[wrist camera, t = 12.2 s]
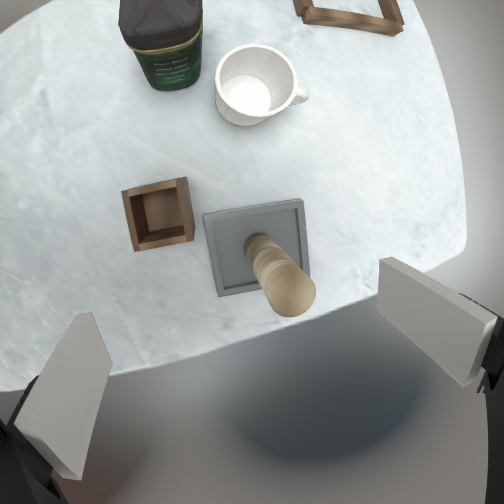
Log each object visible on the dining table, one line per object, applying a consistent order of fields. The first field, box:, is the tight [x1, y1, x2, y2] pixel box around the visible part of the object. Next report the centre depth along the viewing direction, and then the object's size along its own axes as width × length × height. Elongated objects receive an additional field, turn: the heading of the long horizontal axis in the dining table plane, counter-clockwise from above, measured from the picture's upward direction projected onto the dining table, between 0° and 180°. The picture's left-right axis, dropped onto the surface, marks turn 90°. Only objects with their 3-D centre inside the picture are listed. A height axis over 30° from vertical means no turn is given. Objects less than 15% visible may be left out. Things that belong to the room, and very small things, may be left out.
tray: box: [203, 199, 310, 297], centre depth 42 cm, size 14×12×2 cm
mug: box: [215, 44, 309, 126], centre depth 32 cm, size 11×9×10 cm
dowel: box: [243, 233, 316, 317], centre depth 34 cm, size 4×4×17 cm
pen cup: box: [121, 177, 195, 252], centre depth 35 cm, size 7×7×8 cm
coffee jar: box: [118, 0, 203, 90], centre depth 24 cm, size 10×8×19 cm
